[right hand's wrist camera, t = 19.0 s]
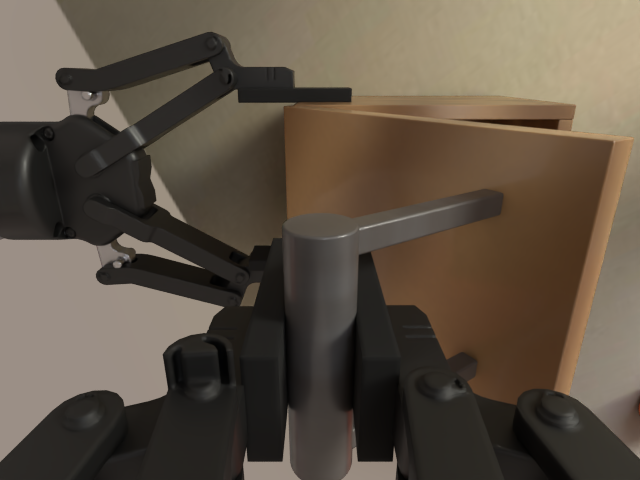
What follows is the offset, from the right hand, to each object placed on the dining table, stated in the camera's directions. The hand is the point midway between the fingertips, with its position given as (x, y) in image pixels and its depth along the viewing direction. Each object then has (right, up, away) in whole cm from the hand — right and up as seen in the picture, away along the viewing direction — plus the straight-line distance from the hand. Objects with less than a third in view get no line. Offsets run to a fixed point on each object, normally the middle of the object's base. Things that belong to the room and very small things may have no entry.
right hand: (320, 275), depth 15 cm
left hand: (+2, +5, +13) cm, 14 cm away
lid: (+3, +1, +3) cm, 5 cm away
